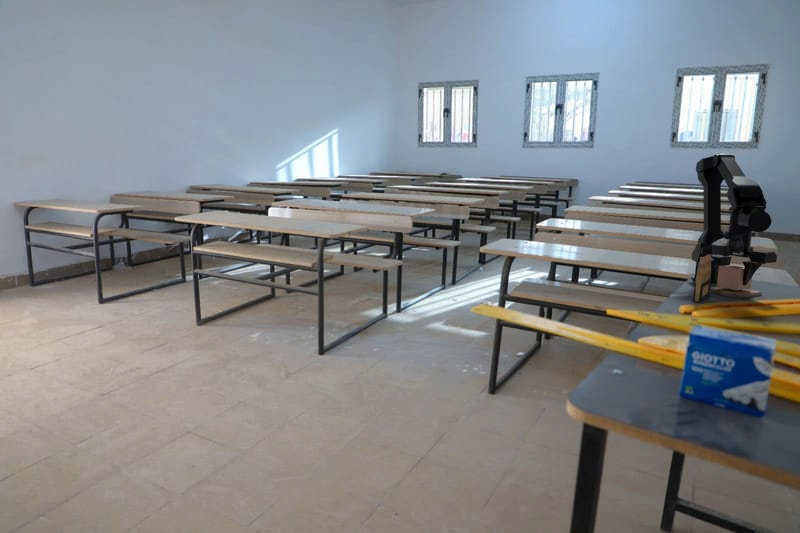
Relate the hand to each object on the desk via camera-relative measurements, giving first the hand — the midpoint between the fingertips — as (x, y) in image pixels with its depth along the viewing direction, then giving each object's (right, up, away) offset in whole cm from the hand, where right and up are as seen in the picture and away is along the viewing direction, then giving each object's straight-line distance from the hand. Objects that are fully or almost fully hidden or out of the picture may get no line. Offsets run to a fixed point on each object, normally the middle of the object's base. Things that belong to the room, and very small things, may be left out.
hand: (734, 282), depth 157 cm
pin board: (0, -3, 0) cm, 3 cm away
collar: (0, -1, 0) cm, 1 cm away
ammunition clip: (-13, -4, -7) cm, 16 cm away
